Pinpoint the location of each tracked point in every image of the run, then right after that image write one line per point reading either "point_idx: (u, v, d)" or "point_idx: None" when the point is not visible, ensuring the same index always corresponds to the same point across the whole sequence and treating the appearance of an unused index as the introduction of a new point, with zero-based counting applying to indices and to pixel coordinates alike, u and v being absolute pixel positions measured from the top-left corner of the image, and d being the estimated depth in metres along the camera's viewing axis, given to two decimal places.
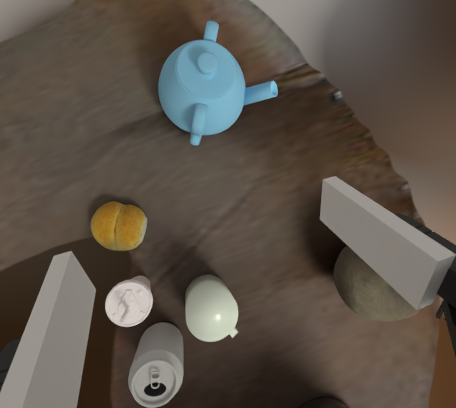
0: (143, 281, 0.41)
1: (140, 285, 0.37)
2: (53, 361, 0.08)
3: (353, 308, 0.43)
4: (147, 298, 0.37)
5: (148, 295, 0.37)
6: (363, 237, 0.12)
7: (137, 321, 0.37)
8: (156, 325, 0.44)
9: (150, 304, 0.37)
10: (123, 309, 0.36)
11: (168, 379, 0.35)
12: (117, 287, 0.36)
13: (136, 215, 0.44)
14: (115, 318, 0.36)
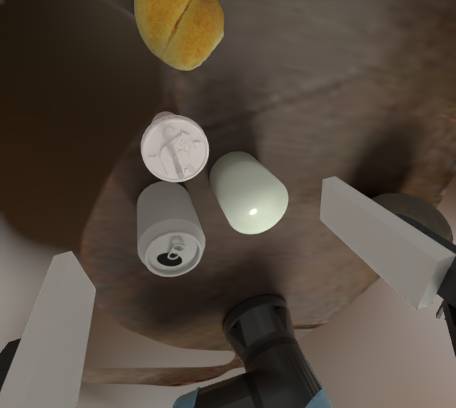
0: None
1: (203, 134, 0.24)
2: (53, 361, 0.08)
3: None
4: (203, 156, 0.25)
5: (205, 153, 0.25)
6: (363, 237, 0.12)
7: (177, 178, 0.26)
8: (170, 184, 0.34)
9: (203, 165, 0.26)
10: (167, 155, 0.24)
11: (188, 255, 0.29)
12: (171, 121, 0.23)
13: (218, 19, 0.26)
14: (151, 162, 0.24)
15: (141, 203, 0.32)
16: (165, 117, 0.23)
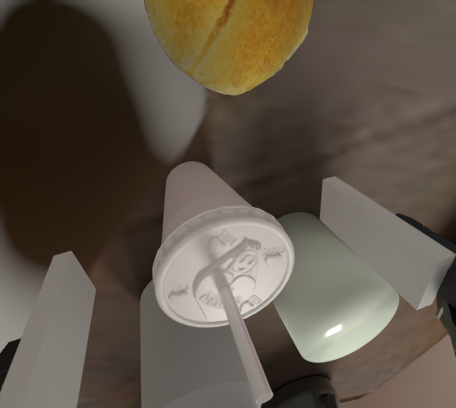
0: None
1: (288, 242, 0.11)
2: (53, 361, 0.08)
3: None
4: (280, 277, 0.12)
5: (286, 272, 0.12)
6: (363, 237, 0.12)
7: (225, 320, 0.13)
8: None
9: (278, 293, 0.13)
10: (211, 291, 0.11)
11: None
12: (226, 225, 0.10)
13: None
14: (176, 303, 0.11)
15: (148, 313, 0.19)
16: (210, 213, 0.10)
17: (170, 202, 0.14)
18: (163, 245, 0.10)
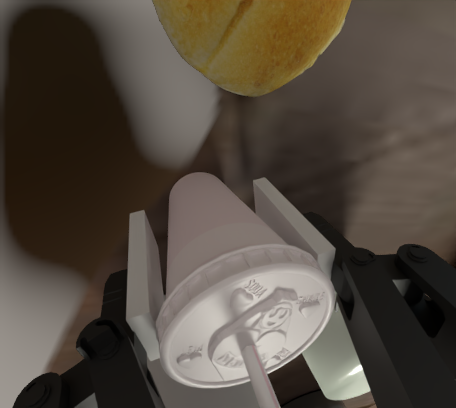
0: None
1: (329, 288, 0.09)
2: (153, 284, 0.10)
3: None
4: (315, 326, 0.10)
5: (322, 320, 0.10)
6: (279, 234, 0.13)
7: (246, 377, 0.10)
8: None
9: (310, 343, 0.10)
10: (232, 351, 0.08)
11: None
12: (256, 275, 0.07)
13: None
14: (186, 367, 0.09)
15: None
16: (232, 255, 0.08)
17: (176, 227, 0.11)
18: (170, 297, 0.08)
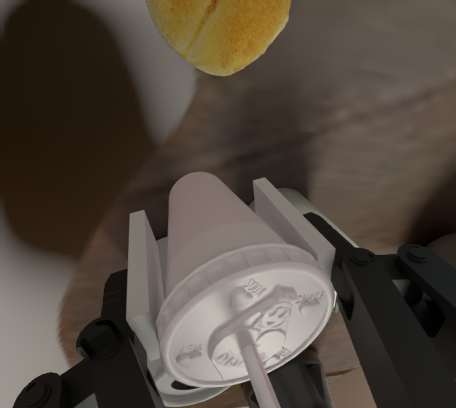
0: None
1: (329, 287, 0.09)
2: (153, 284, 0.10)
3: None
4: (314, 325, 0.10)
5: (322, 319, 0.10)
6: (279, 234, 0.13)
7: (245, 376, 0.10)
8: None
9: (310, 342, 0.10)
10: (232, 350, 0.08)
11: None
12: (256, 274, 0.07)
13: None
14: (186, 366, 0.09)
15: None
16: (232, 255, 0.08)
17: (176, 227, 0.11)
18: (170, 296, 0.08)
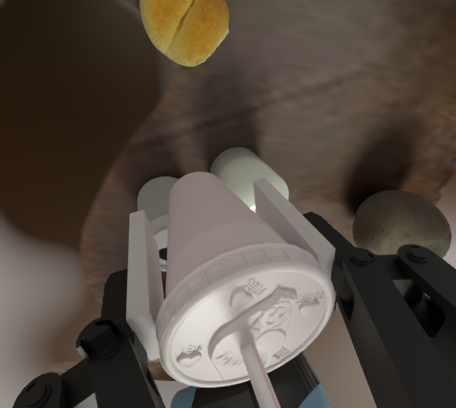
0: None
1: (329, 287, 0.09)
2: (153, 284, 0.10)
3: (367, 249, 0.42)
4: (314, 325, 0.10)
5: (322, 319, 0.10)
6: (279, 234, 0.13)
7: (245, 376, 0.10)
8: (171, 179, 0.34)
9: (310, 342, 0.10)
10: (232, 350, 0.08)
11: None
12: (256, 274, 0.07)
13: (223, 16, 0.26)
14: (186, 366, 0.09)
15: (141, 198, 0.32)
16: (232, 254, 0.08)
17: (176, 227, 0.11)
18: (170, 296, 0.08)
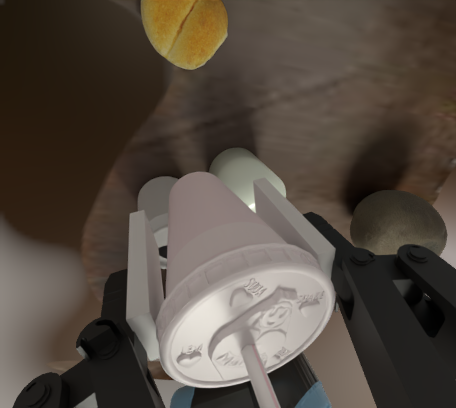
0: None
1: (329, 287, 0.09)
2: (153, 285, 0.10)
3: (364, 248, 0.43)
4: (315, 326, 0.10)
5: (323, 319, 0.10)
6: (279, 234, 0.13)
7: (245, 376, 0.10)
8: (170, 179, 0.35)
9: (310, 342, 0.10)
10: (232, 351, 0.08)
11: None
12: (256, 274, 0.07)
13: (222, 20, 0.27)
14: (186, 366, 0.09)
15: (142, 197, 0.33)
16: (232, 255, 0.08)
17: (176, 227, 0.11)
18: (170, 296, 0.08)
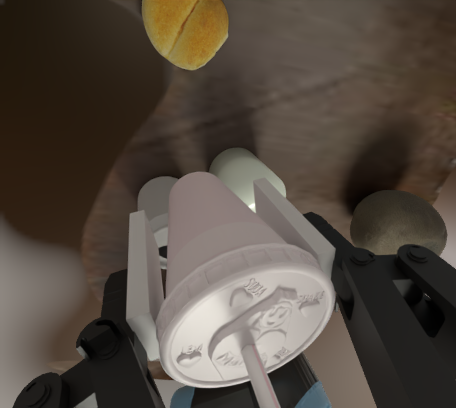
0: None
1: (329, 287, 0.09)
2: (153, 285, 0.10)
3: (364, 248, 0.43)
4: (315, 326, 0.10)
5: (323, 319, 0.10)
6: (279, 234, 0.13)
7: (245, 376, 0.10)
8: (170, 179, 0.35)
9: (310, 342, 0.10)
10: (232, 351, 0.08)
11: None
12: (256, 274, 0.07)
13: (222, 21, 0.27)
14: (186, 366, 0.09)
15: (142, 197, 0.33)
16: (232, 255, 0.08)
17: (176, 227, 0.11)
18: (170, 296, 0.08)
